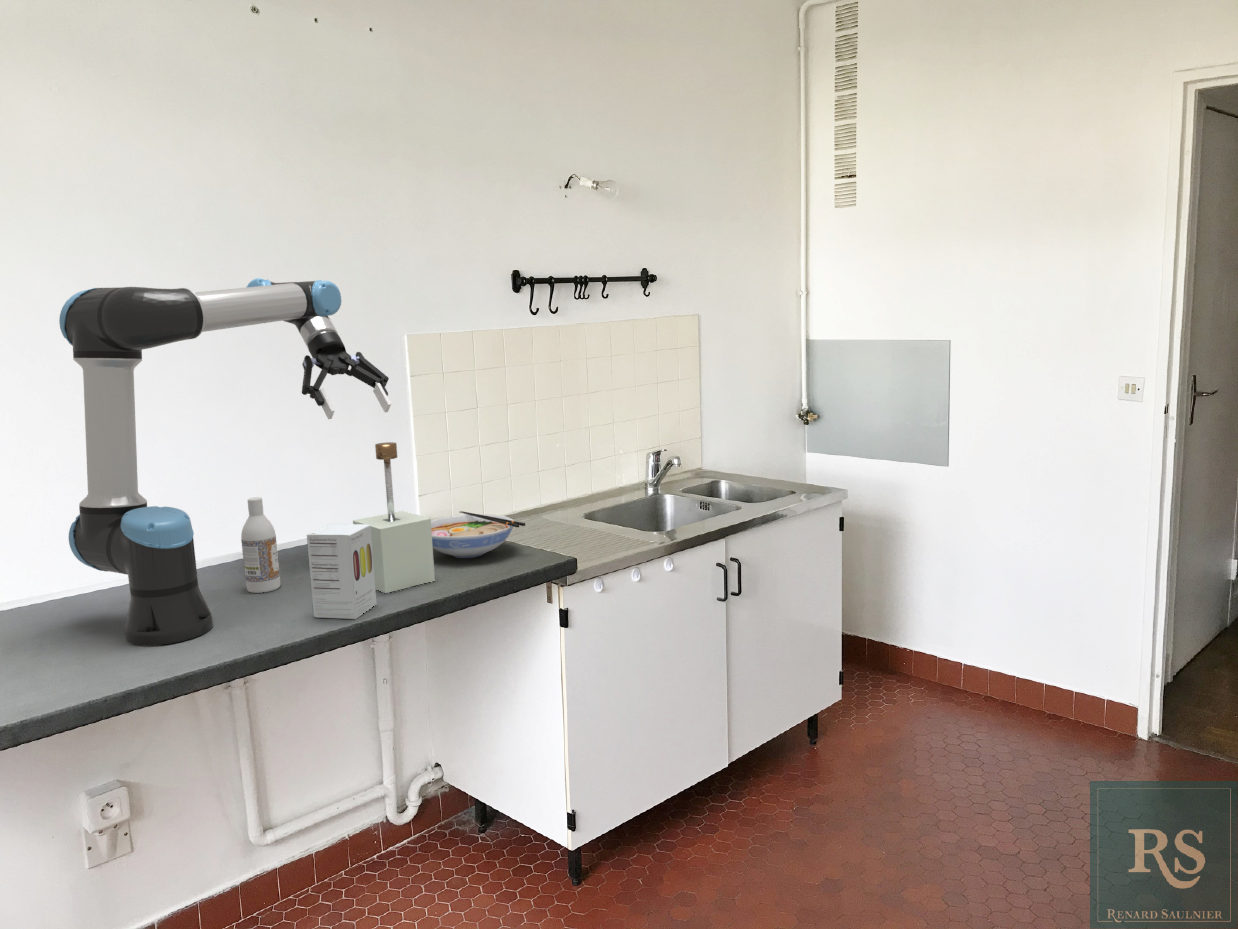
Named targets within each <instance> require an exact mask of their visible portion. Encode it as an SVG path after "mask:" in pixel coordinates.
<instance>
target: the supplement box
mask: <svg viewBox="0 0 1238 929" xmlns="http://www.w3.org/2000/svg"><path fill="white" fill-rule="evenodd" d="M306 542H307V550H308V551H307V553H308V554H307V555H308V564H309V576H310V586H311V589H310V590H311V597H312V599H311V600H312V609H313V618H321V619H323V618H324V619H325V618H327V619H343V620H345V619H346V620H357V619H358V618H359V617H361V616H363V615H364V614H365V613H367V612H369V611H370V610H372V609H373V608H374V607H376V606H377V594H376V592H377V591H376V590H375V577H374V565H373V551H372V538H371V526H370V525H366V524H353V523H351V524H349V523H348V524H347V523H345V524H343V523H330V524H327V525H326V526H323V527H322V528H319V529H316V530H315V531H312V532H310V533H307V535H306ZM375 605H376V606H375ZM373 606H374V607H373ZM372 607H373V608H372ZM369 609H370V610H369ZM366 611H367V612H366ZM363 613H364V614H363Z"/></svg>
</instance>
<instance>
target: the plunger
mask: <svg viewBox="0 0 1238 929" xmlns="http://www.w3.org/2000/svg"><path fill="white" fill-rule="evenodd" d="M374 448H375V458H376V460H379V461H380V460H381V461H382V460H383V467H384V469H383V470H384V480H385V482H384V483H385V496H386V506H387V507H386V509H387V514H388V522H391V521H395V513H394V512H395V504H394V503H395V502H394V490H393V489H394V488H393V475H392V463H391V461H392V460H394V459H397V458H398V446H397V442H395V441H394V442H391V441H390V442H389V441H388V442H387V441H386V442H379V443H375V445H374Z"/></svg>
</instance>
